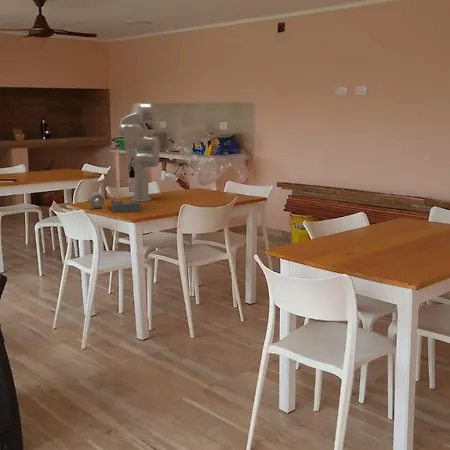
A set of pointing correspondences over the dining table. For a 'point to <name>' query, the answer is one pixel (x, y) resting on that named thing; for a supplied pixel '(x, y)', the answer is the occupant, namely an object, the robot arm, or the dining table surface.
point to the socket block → (125, 206)
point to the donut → (92, 198)
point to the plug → (131, 183)
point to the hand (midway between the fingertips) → (131, 176)
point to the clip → (110, 196)
